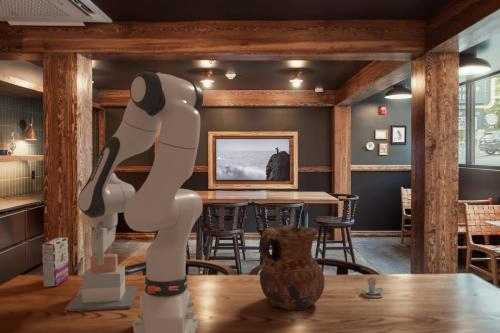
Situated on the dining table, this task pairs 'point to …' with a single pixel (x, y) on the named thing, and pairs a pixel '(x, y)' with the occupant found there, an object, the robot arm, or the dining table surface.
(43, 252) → the candy bar box
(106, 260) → the terracotta brick
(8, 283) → the dining table surface
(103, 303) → the white stack on tray
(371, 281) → the pacifier
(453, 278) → the dining table surface
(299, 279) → the jug
